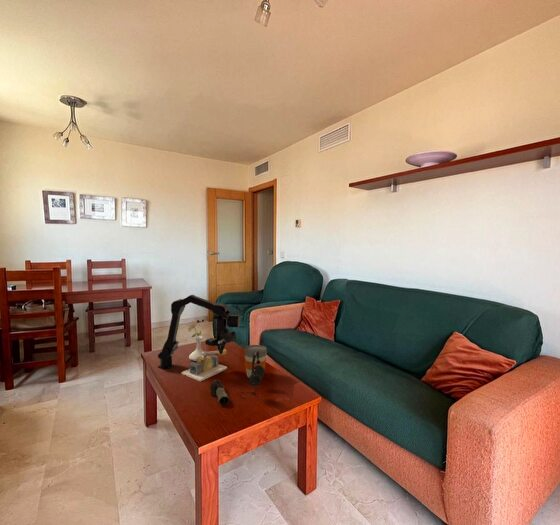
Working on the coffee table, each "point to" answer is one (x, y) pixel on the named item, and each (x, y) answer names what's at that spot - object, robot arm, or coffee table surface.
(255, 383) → the headphones
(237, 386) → the coffee table surface
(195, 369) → the blocks
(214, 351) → the valve lever
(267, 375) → the coffee table surface
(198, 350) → the white rounded piece
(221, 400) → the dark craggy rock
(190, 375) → the mounting board
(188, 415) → the coffee table surface
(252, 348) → the reusable coffee cup
